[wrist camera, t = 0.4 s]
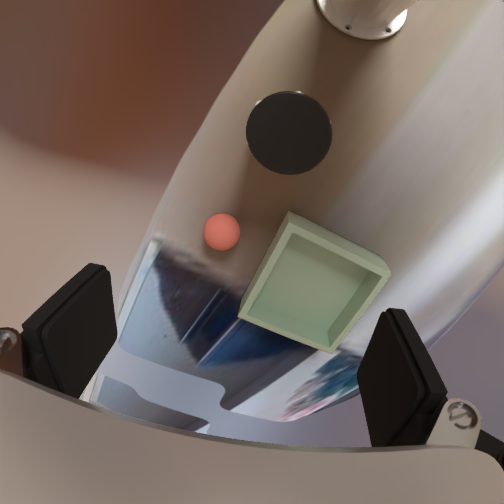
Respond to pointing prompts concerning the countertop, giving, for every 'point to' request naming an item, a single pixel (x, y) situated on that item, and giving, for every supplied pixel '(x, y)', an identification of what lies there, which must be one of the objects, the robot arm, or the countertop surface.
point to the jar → (289, 132)
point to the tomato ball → (221, 231)
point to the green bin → (312, 284)
